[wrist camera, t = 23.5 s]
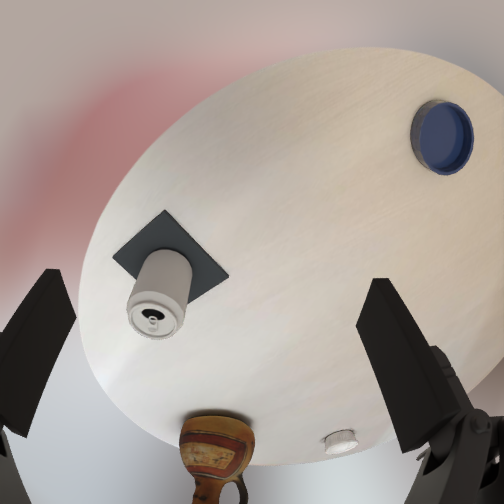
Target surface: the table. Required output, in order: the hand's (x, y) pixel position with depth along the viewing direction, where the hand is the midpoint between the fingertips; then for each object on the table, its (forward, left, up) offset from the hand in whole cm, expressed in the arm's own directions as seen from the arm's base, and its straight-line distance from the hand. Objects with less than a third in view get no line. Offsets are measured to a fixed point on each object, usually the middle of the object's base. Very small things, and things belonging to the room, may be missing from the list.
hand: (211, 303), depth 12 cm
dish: (+15, +27, -29) cm, 42 cm away
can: (+8, -18, -28) cm, 34 cm away
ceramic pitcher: (+52, -47, -29) cm, 76 cm away
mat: (+8, -18, -29) cm, 35 cm away
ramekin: (+90, -27, -29) cm, 98 cm away
